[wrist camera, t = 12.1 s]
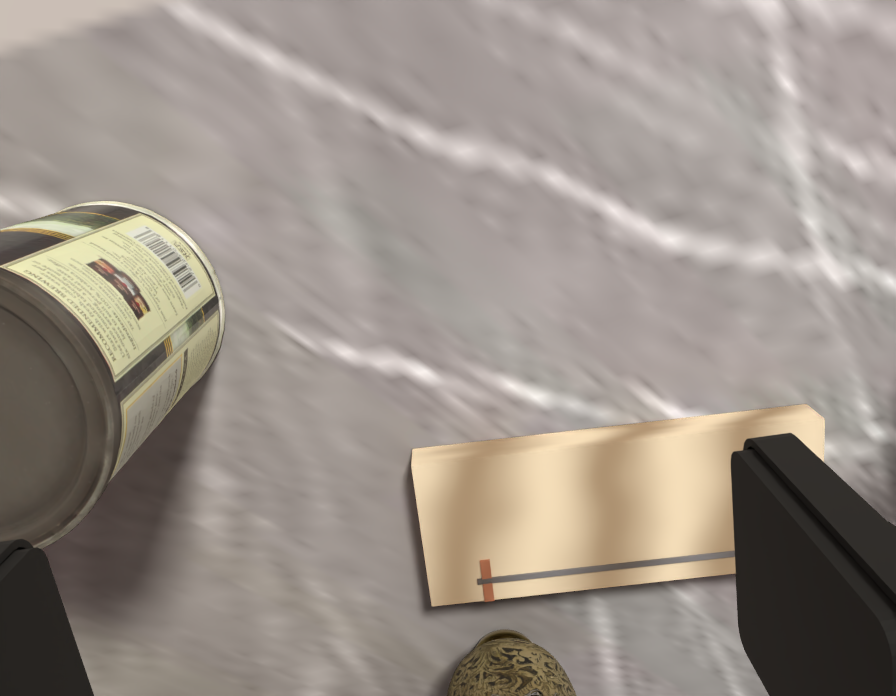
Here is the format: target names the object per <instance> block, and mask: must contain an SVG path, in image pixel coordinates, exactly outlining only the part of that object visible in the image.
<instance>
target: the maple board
mask: <svg viewBox="0 0 896 696" xmlns="http://www.w3.org/2000/svg"><path fill="white" fill-rule="evenodd" d="M785 433H792V434H794V435H795V436H796V437H797V438H799V439H800V440H801V441H802V442H803V443H804V444H805V445H806V446H807V447H808V448H809V449H810V450H811V451H812V452H813V453H815V454H816V455H817V456H818V457H819V458H820V459H821V460H822V461H823V462H824V435H825V419H824V418H823V417H822V416H820V415H819V414H818V413H817V412H815V411H814V410H813V409H812V408H811V407H809V406H808V405H807V404H803V405H794V406H785V407H776V408H768V409H759V410H750V411H741V412H733V413H724V414H715V415H706V416H698V417H689V418H680V419H671V420H663V421H654V422H645V423H636V424H628V425H619V426H610V427H601V428H593V429H584V430H575V431H566V432H557V433H549V434H540V435H531V436H522V437H514V438H505V439H496V440H487V441H479V442H470V443H461V444H452V445H444V446H435V447H426V448H417V449H413V450H412V462H411V468H412V475H413V482H414V489H415V496H416V502H417V509H418V516H419V523H420V530H421V537H422V543H423V550H424V557H425V564H426V571H427V578H428V584H429V591H430V598H431V605H432V606H442V605H451V604H460V603H469V602H478V601H485V602H489V601H495V600H497V599H506V598H515V597H524V596H533V595H542V594H552V593H561V592H570V591H579V590H588V589H597V588H607V587H616V586H625V585H634V584H643V583H652V582H662V581H671V580H680V579H689V578H698V577H707V576H717V575H726V574H735V573H736V568H735V547H734V526H733V504H732V483H731V455H732V453H733V452H734V451H741V450H743V446H744V442H745V441H746V439H749V438H756V437H763V436H770V435H777V434H785Z"/></svg>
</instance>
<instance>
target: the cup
mask: <svg viewBox="0 0 896 696" xmlns="http://www.w3.org/2000/svg"><path fill="white" fill-rule="evenodd" d="M447 696H576V693H575V691H574V689H573V686H572V684H571V682H570V680H569V678H568V677H567V675H566V673H565V671H564V670H563V668H562V667H561V665H560V664H559V663H558V661H557V660H556V659H555V658H554V657H553V656H552V655H551V654H550V653H549V652H547V651H546V650H545V649H543V648H542V647H540V646H538V645H536V644H534V643H532V642H531V641H530V640H529V639H528V638H527V637H526V636H524V635H523V634H521V633H519V632H517V631H514V630H507V629H503V630H497V631H493V632H491V633H489V634H487V635H486V636H484V637H483V638H482V639H481V640H480V641H479V643H478V644H477V646H476V648H475V649H474V650H473V651H471V652H470V653H469V654H468V655H467V656H466V657H465V658H464V659H463V660H462V661H461V663H460V664H459V666H458V667H457V669H456V671H455V672H454V675H453V677H452V680H451V682H450V685H449V689H448V693H447Z"/></svg>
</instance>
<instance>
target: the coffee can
mask: <svg viewBox="0 0 896 696" xmlns="http://www.w3.org/2000/svg"><path fill="white" fill-rule="evenodd" d="M224 323H225V307H224V300H223V295H222V291H221V287H220V284H219V281H218V279H217V276H216V274H215V270H214V269H213V267H212V266H211V264H210V262H209V261H208V259H207V258H206V256H205V255H204V253H203V252H202V250H201V249H200V248H199V247H198V246H197V244H196V243H195V242H194V241H193V240H192V239H191V238H190V237H189V236H188V235H187V234H186V233H185V232H184V231H182V230H181V229H180V228H179V227H178V226H176V225H175V224H173V223H172V222H170V221H169V220H167V219H166V218H164V217H162V216H160V215H158V214H156V213H155V212H153V211H151V210H148V209H145V208H142V207H138V206H135V205H131V204H127V203H120V202H112V201H97V202H88V203H82V204H78V205H75V206H71V207H67V208H65V209H63V210H61V211H59V212H56V213H54V214H51V215H48V216H45V217H41V218H38V219H35V220H31V221H27V222H24V223H21V224H17V225H14V226H11V227H7V228H4V229H1V230H0V542H3V541H10V540H17V539H24V540H27V541H28V542H29V543H30V544H31V545H32V546H33V547H34V548H36V547H37V548H40V549H43V548H45V547H46V546H48V545H50V544H52V543H54V542H55V541H57V540H59V539H60V538H62V537H63V536H64V535H66V534H67V533H69V532H70V531H71V530H72V529H73V528H75V527H76V526H77V525H78V524H79V523H80V522H81V521H82V520H83V519H84V518H85V516H86V515H87V514H88V513H89V512H90V510H91V509H92V508H93V507H94V505H95V503H96V502H97V501H98V499H99V498H100V496H101V495H102V493H103V492H104V490H105V489H106V487H107V485H108V483H109V482H110V481H111V479H112V478H113V477H114V476H115V475H116V474H117V472H118V471H119V470H120V469H121V468H122V467H123V465H124V464H125V463H126V462H127V461H128V460H129V458H130V457H131V456H132V455H133V453H134V452H135V451H136V450H137V449H138V448H139V447H140V445H141V444H142V443H143V442H144V441H145V439H146V438H147V437H148V436H149V435H150V434H151V433H152V431H153V430H154V429H155V428H156V427H157V426H158V425H159V424H160V422H161V421H162V420H163V419H164V417H165V416H166V415H167V414H168V413H169V412H170V410H171V409H172V408H173V407H174V406H175V405H176V403H177V402H178V401H179V400H180V399H181V398H182V396H183V395H184V394H185V393H186V392H187V391H188V390H189V388H190V387H192V386H193V385H194V384H195V383H196V382H197V381H198V380H199V379H201V377H202V376H203V375H204V374H205V372H206V371H207V370H208V368H209V367H210V365H211V364H212V362H213V360H214V358H215V356H216V354H217V352H218V350H219V348H220V346H221V340H222V336H223V332H224Z"/></svg>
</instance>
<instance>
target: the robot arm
mask: <svg viewBox="0 0 896 696" xmlns="http://www.w3.org/2000/svg"><path fill="white" fill-rule="evenodd" d="M731 483H732V504H733V526H734V547H735V568H736V589H737V610H738V626H739V633H740V637H741V641H742V644H743V647H744V650H745V652H746V654H747V656H748V658H749V660H750V661H751V663H752V665H753V667H754V669H755V670H756V672H757V674H758V676H759V678H760V679H761V681H762V683H763V685H764V687H765V688H766V690H767V692H768V694H769V696H896V526H894V525H893V524H891V523H890V522H887V521H886V520H885V519H884V518H883V517H882V516H881V515H880V514H879V513H878V512H877V511H875V510H874V509H873V508H872V507H871V506H870V505H869V504H868V503H867V502H866V501H865V500H864V499H863V498H862V497H860V496H859V495H858V494H857V493H856V492H855V491H854V490H853V489H852V488H851V487H850V486H849V485H848V484H847V483H846V482H844V481H843V480H842V479H841V478H840V477H839V476H838V475H837V474H836V473H835V472H834V471H833V470H832V469H831V468H830V467H828V466H827V465H826V464H825V463H824V462H823V461H822V460H821V459H820V458H819V457H818V456H817V455H816V454H815V453H813V452H812V451H811V450H810V449H809V448H808V447H807V446H806V445H805V444H804V443H803V442H802V441H801V440H800V439H799V438H797V437H796V436H795V435H794V434H792V433H785V434H777V435H770V436H763V437H756V438H749V439H746V441H745V442H744V446H743V450H741V451H734V452H733V453H732V455H731ZM0 696H94V694H93V691H92V688H91V685H90V682H89V680H88V677H87V674H86V671H85V668H84V665H83V662H82V659H81V656H80V653H79V650H78V647H77V644H76V641H75V638H74V636H73V633H72V630H71V627H70V624H69V621H68V618H67V615H66V612H65V609H64V606H63V603H62V600H61V597H60V594H59V592H58V589H57V586H56V583H55V580H54V577H53V574H52V571H51V568H50V565H49V562H48V559H47V557H46V555H45V553H44V552H43V551H42V550H41V549H40V548H37V547H36V548H34V547H33V546H32V545H31V544H30V543H29V542H28V541H27V540H24V539H17V540H10V541H3V542H0Z"/></svg>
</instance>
